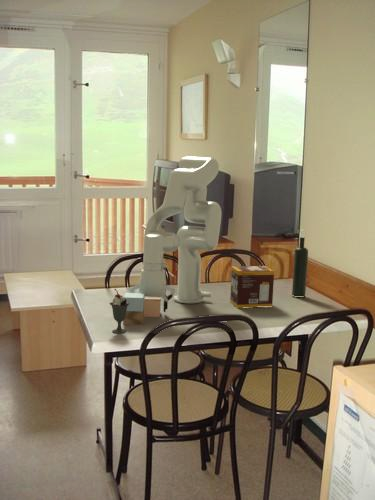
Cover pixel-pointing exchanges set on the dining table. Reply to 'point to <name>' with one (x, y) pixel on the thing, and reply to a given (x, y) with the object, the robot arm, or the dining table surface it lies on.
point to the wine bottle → (300, 268)
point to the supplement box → (251, 286)
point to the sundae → (119, 311)
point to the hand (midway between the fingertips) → (152, 310)
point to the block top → (135, 301)
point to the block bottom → (134, 317)
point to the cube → (152, 307)
